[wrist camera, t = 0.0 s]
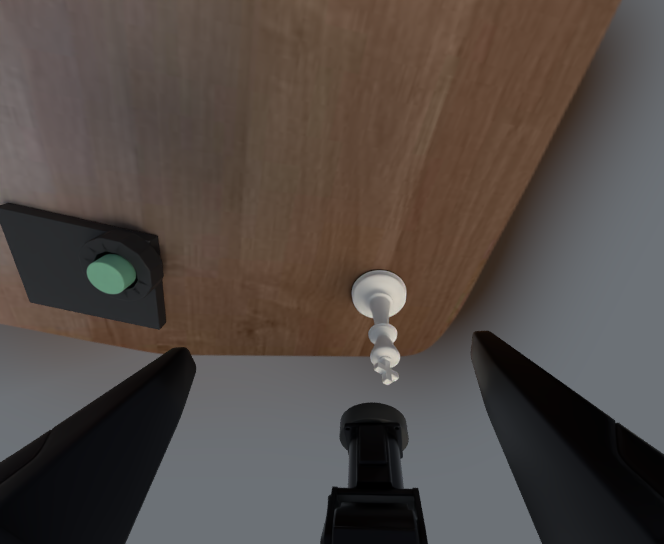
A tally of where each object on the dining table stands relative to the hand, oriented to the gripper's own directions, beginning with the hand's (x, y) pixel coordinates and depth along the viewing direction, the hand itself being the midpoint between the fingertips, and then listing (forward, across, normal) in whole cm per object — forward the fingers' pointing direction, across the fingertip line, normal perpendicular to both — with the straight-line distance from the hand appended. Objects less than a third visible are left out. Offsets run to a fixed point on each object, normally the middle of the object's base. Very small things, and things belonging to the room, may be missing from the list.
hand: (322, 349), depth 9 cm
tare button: (+14, +19, +3) cm, 24 cm away
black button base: (+16, +24, +4) cm, 30 cm away
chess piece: (+16, -2, +9) cm, 19 cm away
